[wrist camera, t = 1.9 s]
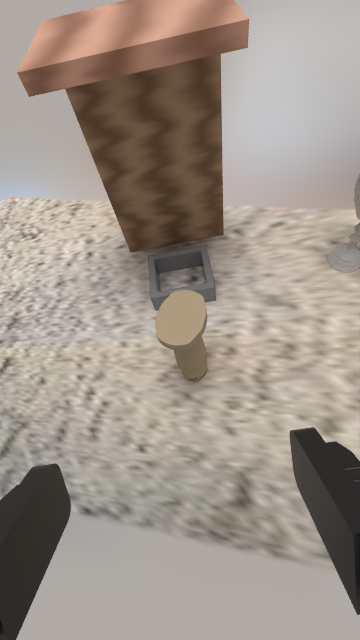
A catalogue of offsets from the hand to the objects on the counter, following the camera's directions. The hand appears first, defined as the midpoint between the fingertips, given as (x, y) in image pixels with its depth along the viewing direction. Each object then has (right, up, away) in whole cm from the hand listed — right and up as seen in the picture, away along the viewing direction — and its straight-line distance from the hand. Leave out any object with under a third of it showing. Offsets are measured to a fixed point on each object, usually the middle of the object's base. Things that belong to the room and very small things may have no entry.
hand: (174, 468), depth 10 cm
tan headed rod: (+2, -2, +32) cm, 32 cm away
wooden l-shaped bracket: (0, +15, +42) cm, 45 cm away
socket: (+1, +11, +40) cm, 41 cm away
